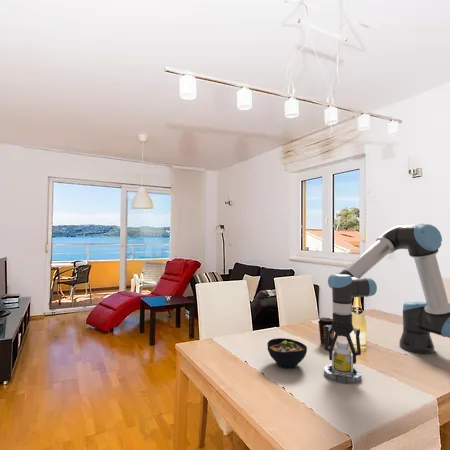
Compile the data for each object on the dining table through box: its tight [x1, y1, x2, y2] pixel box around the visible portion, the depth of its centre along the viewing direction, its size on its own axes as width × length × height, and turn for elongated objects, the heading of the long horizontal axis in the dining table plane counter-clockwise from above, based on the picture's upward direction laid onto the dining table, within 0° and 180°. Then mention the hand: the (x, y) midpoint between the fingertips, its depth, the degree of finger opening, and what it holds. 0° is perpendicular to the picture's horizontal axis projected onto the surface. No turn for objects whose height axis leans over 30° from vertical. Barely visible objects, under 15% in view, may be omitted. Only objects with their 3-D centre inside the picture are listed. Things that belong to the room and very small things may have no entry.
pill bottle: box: [333, 339, 352, 374], centre depth 129 cm, size 6×6×12 cm
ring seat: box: [323, 363, 362, 385], centre depth 129 cm, size 14×14×2 cm
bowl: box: [266, 337, 308, 370], centre depth 139 cm, size 17×17×10 cm
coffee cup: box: [317, 317, 335, 347], centre depth 166 cm, size 9×8×13 cm
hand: (342, 369), depth 129 cm, fingers closed on pill bottle, 6 cm apart
